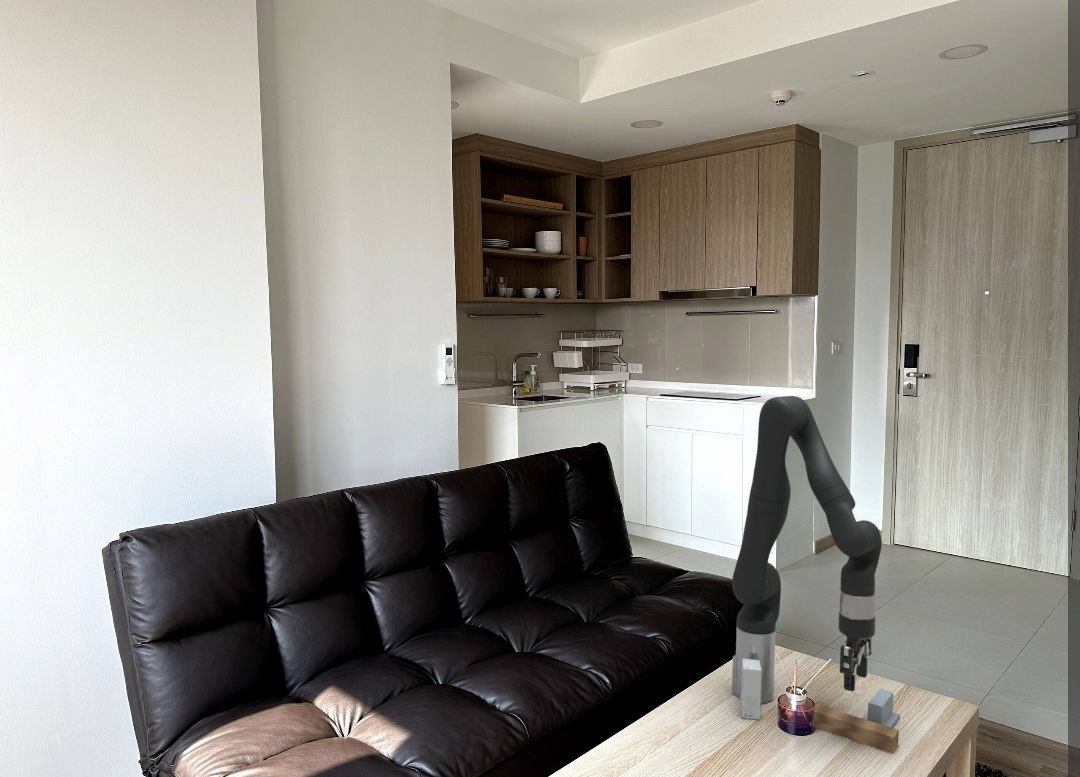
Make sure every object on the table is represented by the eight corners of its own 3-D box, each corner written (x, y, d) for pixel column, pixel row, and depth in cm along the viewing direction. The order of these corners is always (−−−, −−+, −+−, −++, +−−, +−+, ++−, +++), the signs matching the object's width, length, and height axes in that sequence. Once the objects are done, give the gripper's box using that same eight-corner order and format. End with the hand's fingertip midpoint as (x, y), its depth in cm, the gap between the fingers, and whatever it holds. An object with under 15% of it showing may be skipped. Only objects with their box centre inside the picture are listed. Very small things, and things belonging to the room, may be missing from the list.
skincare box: (760, 720, 180) (761, 670, 179) (741, 718, 181) (742, 668, 180) (758, 707, 186) (759, 659, 185) (740, 706, 187) (741, 657, 186)
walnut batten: (809, 727, 177) (810, 710, 177) (815, 720, 181) (816, 704, 180) (892, 755, 166) (893, 737, 166) (898, 747, 169) (898, 730, 169)
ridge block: (859, 726, 177) (860, 701, 177) (873, 710, 185) (873, 685, 184) (887, 735, 173) (888, 709, 173) (899, 718, 181) (900, 693, 181)
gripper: (850, 599, 179) (848, 667, 180) (828, 617, 168) (827, 690, 169) (884, 606, 174) (882, 676, 175) (864, 625, 163) (863, 700, 164)
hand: (855, 683), depth 172 cm, fingers open, 8 cm apart
